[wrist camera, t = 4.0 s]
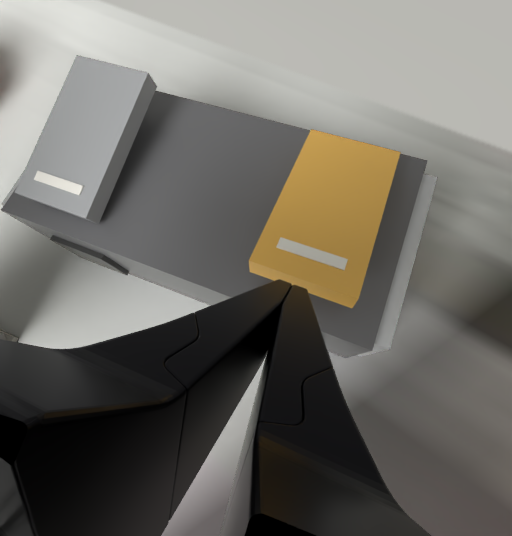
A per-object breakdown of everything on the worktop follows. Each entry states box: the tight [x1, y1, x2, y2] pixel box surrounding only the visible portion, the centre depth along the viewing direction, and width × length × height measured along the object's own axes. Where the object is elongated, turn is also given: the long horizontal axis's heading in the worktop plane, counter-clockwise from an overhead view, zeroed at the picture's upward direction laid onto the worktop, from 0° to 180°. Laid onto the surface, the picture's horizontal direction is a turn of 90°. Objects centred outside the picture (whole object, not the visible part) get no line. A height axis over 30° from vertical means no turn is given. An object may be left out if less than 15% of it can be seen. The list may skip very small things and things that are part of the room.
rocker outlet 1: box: [15, 55, 157, 224], centre depth 17 cm, size 8×4×1 cm, turn 158°
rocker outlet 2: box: [249, 129, 400, 308], centre depth 15 cm, size 8×4×1 cm, turn 158°
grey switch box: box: [1, 91, 438, 358], centre depth 20 cm, size 10×22×6 cm, turn 68°
